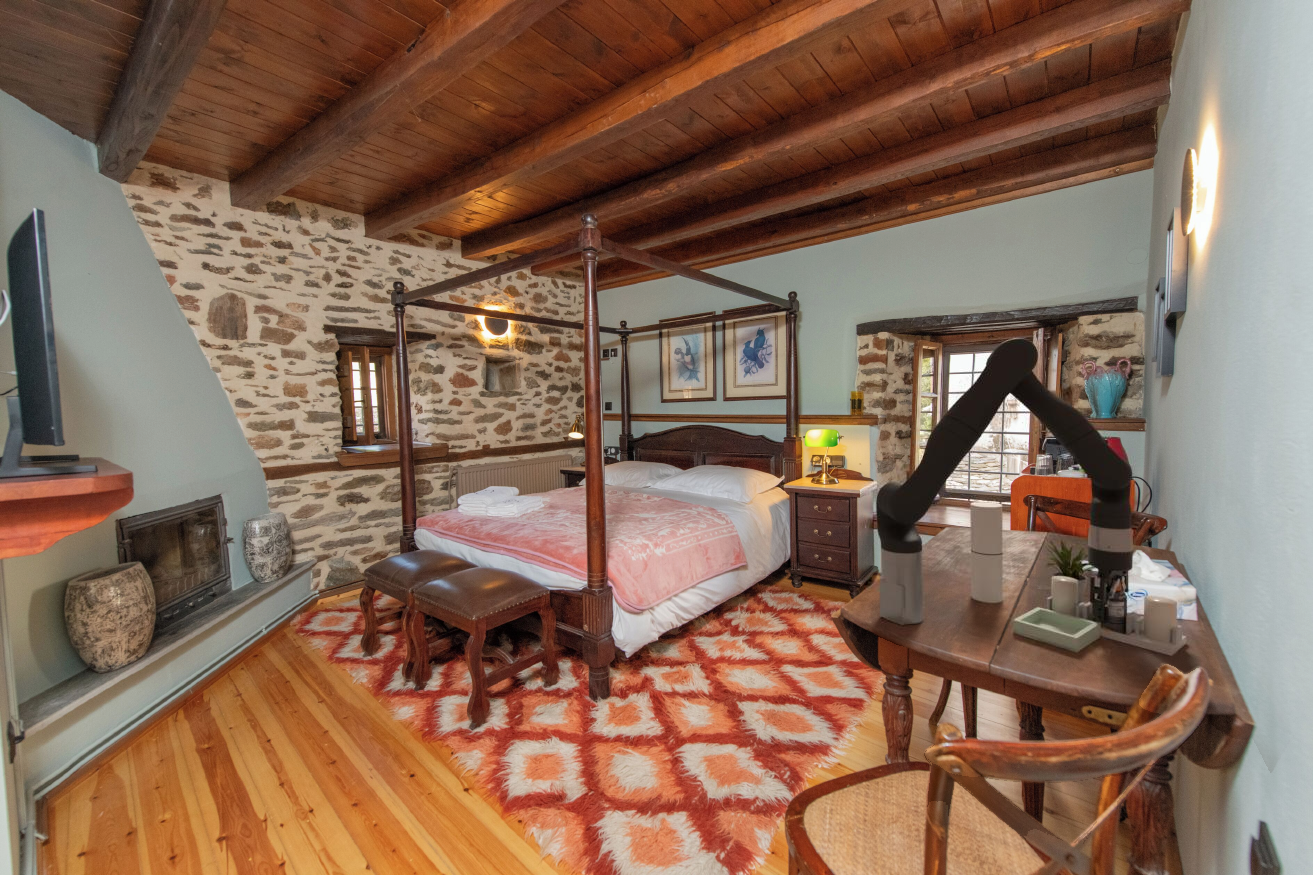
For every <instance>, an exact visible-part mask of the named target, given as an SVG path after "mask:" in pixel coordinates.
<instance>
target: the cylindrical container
mask: <svg viewBox="0 0 1313 875" xmlns="http://www.w3.org/2000/svg"><path fill="white" fill-rule="evenodd" d="M969 506H970V514H969V515H970V516H969V517H970V597H971V598H972V599H973V600H975V601H979V602H982V603H988V604H989V603H991V604H997V603H1002V602H1003V601H1004V600H1003V595H1004V592H1003V591H1004V590H1003V588H1004V587H1003V586H1004V585H1003V579H1004V578H1003V572H1004V571H1003V570H1004V569H1003V566H1004V565H1003V560H1004V559H1003V550H1004V549H1003V546H1004V545H1003V504H1001V503H997V502H992V501H991V502H990V501H976V502H974V501H973V502H970V505H969Z"/></svg>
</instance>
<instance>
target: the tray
mask: <svg viewBox="0 0 1313 875" xmlns="http://www.w3.org/2000/svg"><path fill="white" fill-rule="evenodd" d="M1012 633H1013V634H1016V635H1019V636H1022V637H1025V638H1029V639H1032V640H1035V641H1039V642H1041V643H1046V644H1049V645H1050V646H1051V645H1052V646H1054V647H1057V648H1061V649H1064V650H1068V651H1071V652H1073V653H1078V652H1080V651H1081V650H1083V649H1084V648H1086V647H1087V646H1089V645H1090V644H1092V643H1093V642H1094V641H1096V640H1098V639H1100V637H1101V636H1100V623H1097V622H1093V621H1089V620H1085V619H1082V618H1078V617H1074V616H1070V615H1066V614H1063V613H1059V612H1055V611H1051V610H1047V608H1043V607H1039V606H1037V607H1035V608H1033V609H1032V610H1030V611H1027V612H1025V613H1023V614H1022V615H1020V616H1017V617H1016V618H1014V619H1013V620H1012Z"/></svg>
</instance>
